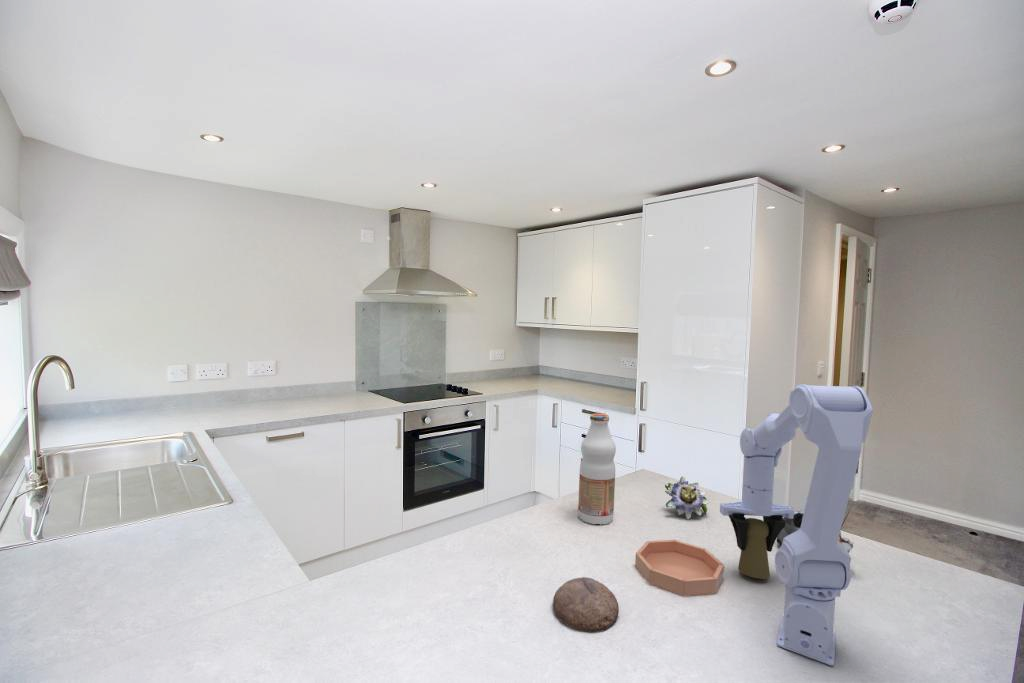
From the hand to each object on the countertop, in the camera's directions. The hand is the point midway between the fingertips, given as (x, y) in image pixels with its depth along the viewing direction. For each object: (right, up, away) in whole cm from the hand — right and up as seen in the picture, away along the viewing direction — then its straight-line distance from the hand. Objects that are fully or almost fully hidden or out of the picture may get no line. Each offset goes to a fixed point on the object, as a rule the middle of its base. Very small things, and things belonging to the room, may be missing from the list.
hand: (754, 548), depth 102 cm
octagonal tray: (-16, -5, +1) cm, 17 cm away
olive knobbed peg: (0, -5, 0) cm, 5 cm away
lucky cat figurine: (+18, -6, +9) cm, 22 cm away
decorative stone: (-38, -6, -14) cm, 41 cm away
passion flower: (-3, -4, +32) cm, 33 cm away
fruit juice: (-29, -4, +27) cm, 40 cm away
